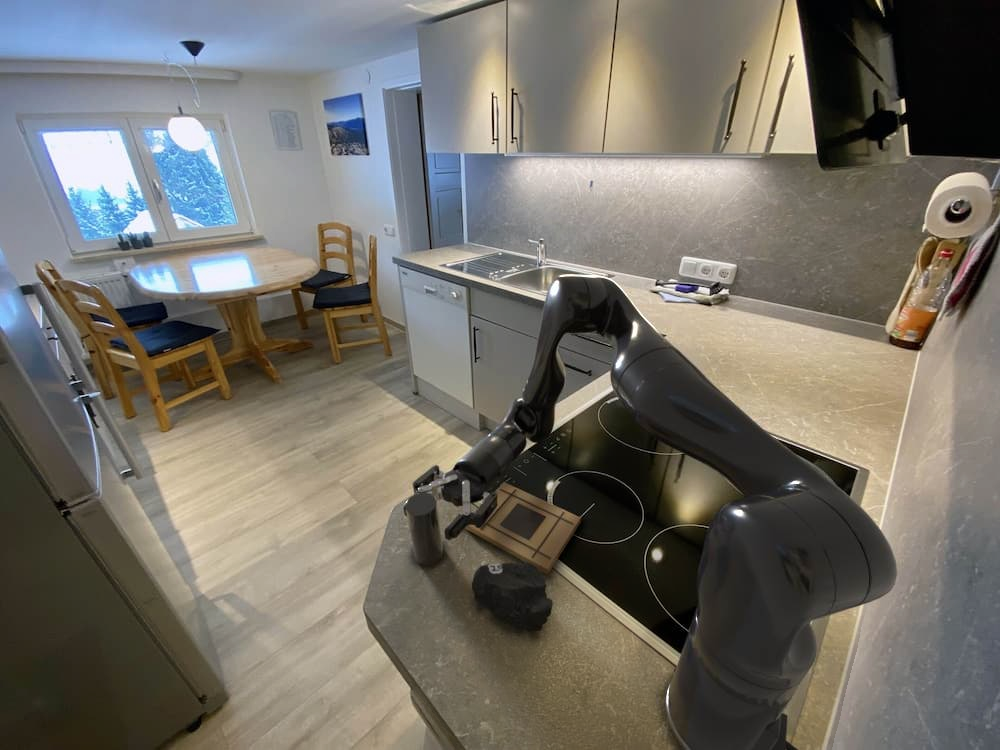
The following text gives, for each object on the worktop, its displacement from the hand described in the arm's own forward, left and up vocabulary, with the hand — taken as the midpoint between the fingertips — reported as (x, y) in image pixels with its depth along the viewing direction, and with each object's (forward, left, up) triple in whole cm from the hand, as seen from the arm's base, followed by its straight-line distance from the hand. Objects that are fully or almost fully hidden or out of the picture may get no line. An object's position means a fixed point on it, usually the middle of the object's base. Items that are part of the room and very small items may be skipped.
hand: (425, 524), depth 64 cm
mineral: (-16, -1, -7) cm, 17 cm away
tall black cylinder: (0, 0, -7) cm, 7 cm away
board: (-10, -13, -7) cm, 17 cm away
